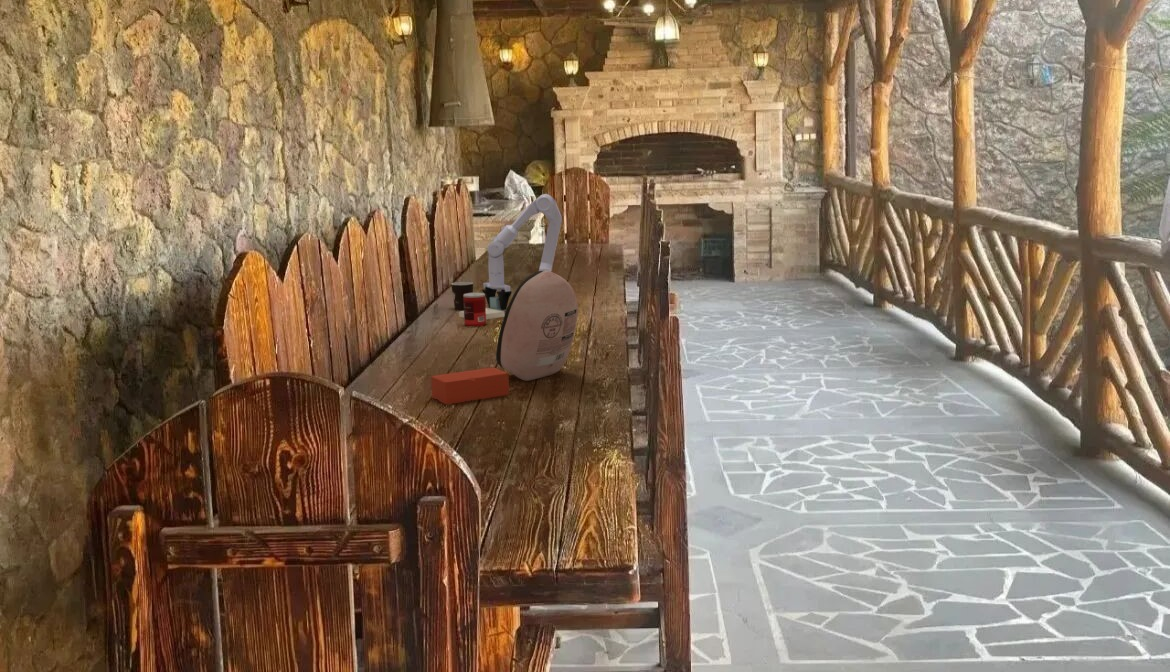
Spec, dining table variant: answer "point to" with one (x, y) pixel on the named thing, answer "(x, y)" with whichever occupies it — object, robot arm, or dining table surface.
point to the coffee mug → (460, 293)
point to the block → (495, 303)
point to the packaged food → (538, 327)
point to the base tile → (488, 313)
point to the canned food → (474, 309)
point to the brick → (470, 385)
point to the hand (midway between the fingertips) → (497, 308)
